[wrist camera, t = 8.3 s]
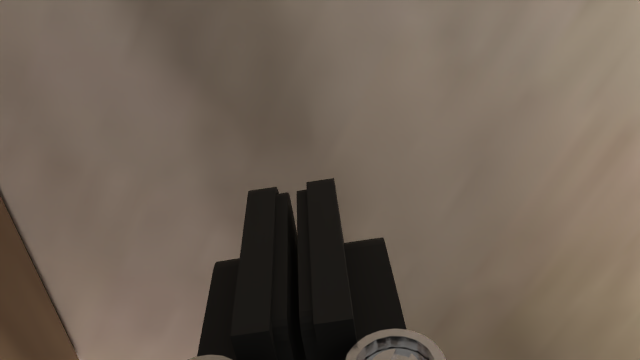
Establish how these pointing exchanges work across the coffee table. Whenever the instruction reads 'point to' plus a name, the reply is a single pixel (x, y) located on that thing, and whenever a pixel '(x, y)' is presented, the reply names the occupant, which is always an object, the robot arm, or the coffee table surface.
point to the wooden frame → (26, 305)
